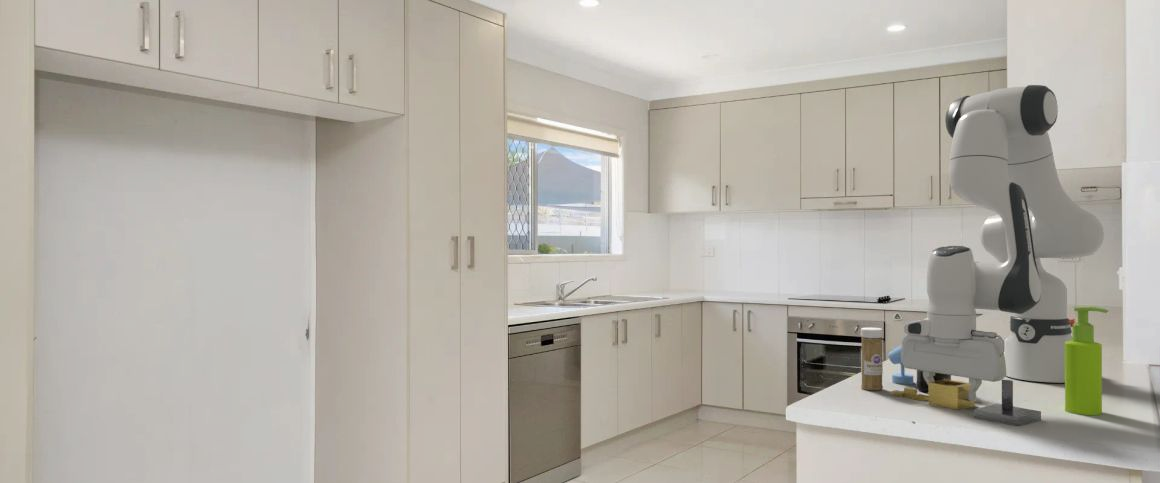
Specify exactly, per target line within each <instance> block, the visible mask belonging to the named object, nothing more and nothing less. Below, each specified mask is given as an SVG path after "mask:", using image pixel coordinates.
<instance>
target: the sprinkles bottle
mask: <svg viewBox="0 0 1160 483" xmlns="http://www.w3.org/2000/svg"><path fill="white" fill-rule="evenodd" d="M860 337H861V339H860V340H861V350H860V354H861V355H860V360H861V363H860V364H861V366H860V367H861V368H860V369H861V370H860V372H861V389H863V390H864V391H875V392H876V391H882V390H883V389H884V388H883V371H884V370H883V337H884V331H883V328H881V327H874V326H873V327H871V326H870V327H861V329H860Z"/></svg>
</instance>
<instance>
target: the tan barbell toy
mask: <svg viewBox="0 0 1160 483" xmlns="http://www.w3.org/2000/svg"><path fill="white" fill-rule="evenodd" d="M917 390H918V389H917V388H911V387H904V389H903V390H898V389H897V390H896V389H894V390H892V391H890V395H891V396H893V397H894V396H895V397H900V398H901V397H902V398H905V397H906V398H909V399H913V400H915V401H916V400H917V401H922V402H927V401H928V402H929V395H928V394H921V393H919V394H918V391H917ZM903 396H904V397H903Z"/></svg>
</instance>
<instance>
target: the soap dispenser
mask: <svg viewBox="0 0 1160 483" xmlns="http://www.w3.org/2000/svg"><path fill="white" fill-rule="evenodd" d="M1074 312H1077V322H1076V323H1075V324H1073V327H1072V337H1073V341H1067V342H1065V383H1064V401H1065V402H1064V410H1065V412H1068V413H1071V414H1075V415H1083V416H1099V415H1102V414H1103V383H1102V382H1103V379H1102V378H1103V363H1102V362H1103V356H1102V355H1103V354H1102V352H1103V351H1102V350H1103V349H1102V348H1103V346H1102V345H1103V344H1102V343H1101V342H1100V343H1099V342H1096V341H1095V339H1094V338H1095V337H1094V336H1095V335H1094V334H1095V327H1094V324H1092V323H1090V322H1089V312H1100V313H1103V314H1104V313H1105V314H1106V313H1108V312H1109V310H1108V309H1106V308H1103V307H1102V308H1100V307H1097V306H1076V307H1075V306H1074Z"/></svg>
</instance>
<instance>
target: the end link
mask: <svg viewBox="0 0 1160 483" xmlns="http://www.w3.org/2000/svg"><path fill="white" fill-rule="evenodd" d="M971 385H972V384H970V383H969V382H966V381H959V380H954V379H951V380H948V379H944V380H939V381H934V382H929V393H928V396H929V400H928V405H931V406H936V407H940V408H945V409H951V410H956V411H959V410H964V409H969V408H972V407H975V404H976V402H975V401H976V400H975V401H967V400H964V391H968V390H969V389H970V387H971Z"/></svg>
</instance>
